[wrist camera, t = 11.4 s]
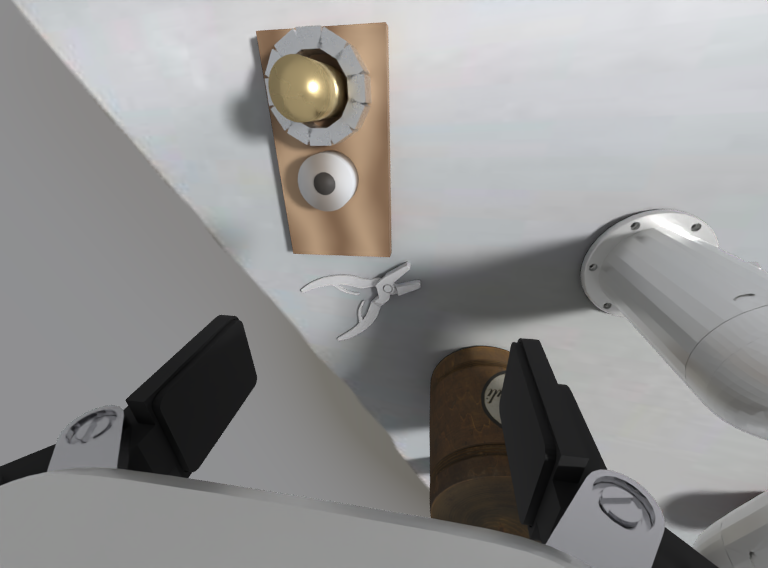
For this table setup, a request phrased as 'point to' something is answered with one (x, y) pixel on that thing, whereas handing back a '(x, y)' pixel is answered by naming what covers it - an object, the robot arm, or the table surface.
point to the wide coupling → (359, 84)
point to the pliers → (383, 285)
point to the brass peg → (307, 89)
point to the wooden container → (471, 443)
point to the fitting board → (361, 147)
